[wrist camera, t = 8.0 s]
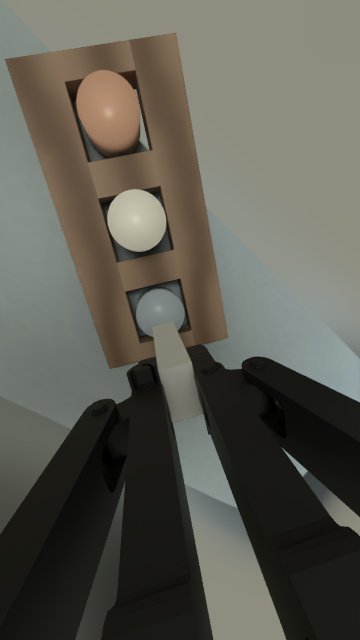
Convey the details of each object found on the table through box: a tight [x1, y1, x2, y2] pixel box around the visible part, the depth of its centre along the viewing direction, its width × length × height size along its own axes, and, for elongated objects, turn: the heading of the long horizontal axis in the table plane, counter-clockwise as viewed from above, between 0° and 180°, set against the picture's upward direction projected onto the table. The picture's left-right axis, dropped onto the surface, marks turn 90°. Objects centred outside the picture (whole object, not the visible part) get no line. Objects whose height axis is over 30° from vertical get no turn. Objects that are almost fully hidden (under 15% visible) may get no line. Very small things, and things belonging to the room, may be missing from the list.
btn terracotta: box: [76, 70, 140, 158], centre depth 21 cm, size 5×5×4 cm
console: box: [5, 33, 228, 369], centre depth 25 cm, size 14×28×2 cm, turn 13°
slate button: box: [136, 286, 185, 337], centre depth 27 cm, size 5×5×4 cm
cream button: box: [107, 189, 166, 252], centre depth 23 cm, size 5×5×4 cm
